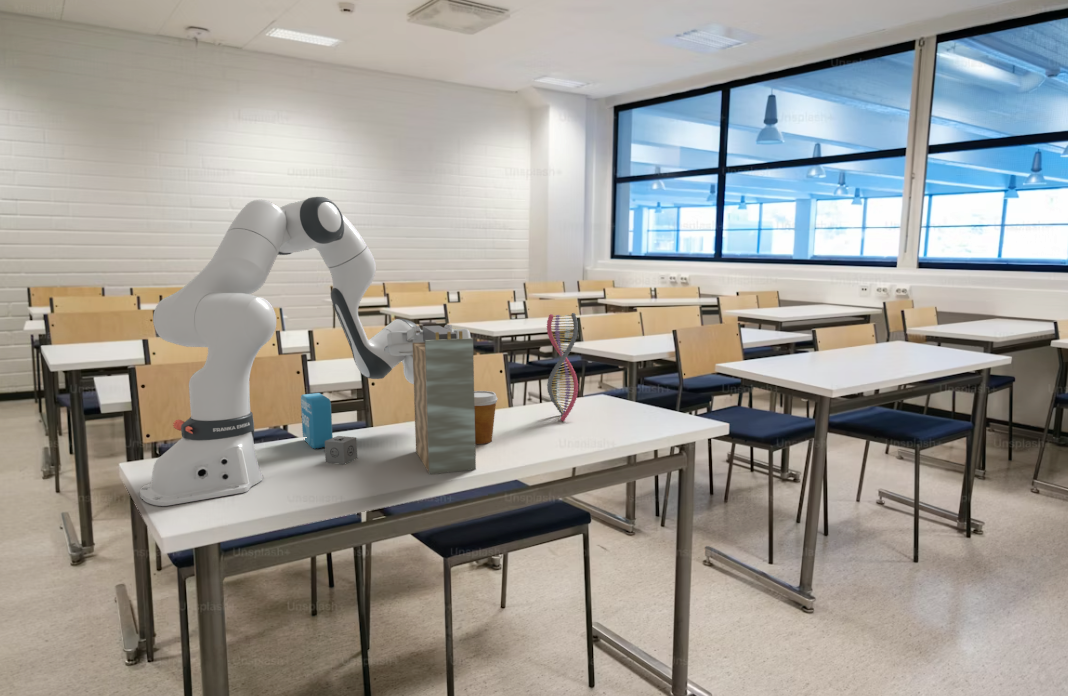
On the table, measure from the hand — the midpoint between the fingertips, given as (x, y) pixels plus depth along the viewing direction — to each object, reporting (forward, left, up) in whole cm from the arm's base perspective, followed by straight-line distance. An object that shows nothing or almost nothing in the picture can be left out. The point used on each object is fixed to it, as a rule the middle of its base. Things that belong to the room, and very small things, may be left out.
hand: (433, 328), depth 164 cm
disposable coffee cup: (+12, -1, -29) cm, 32 cm away
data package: (-18, +26, -30) cm, 43 cm away
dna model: (+45, +2, -29) cm, 54 cm away
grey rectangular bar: (-3, -6, -3) cm, 8 cm away
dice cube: (-21, +8, -30) cm, 37 cm away
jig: (-4, -8, -29) cm, 31 cm away
